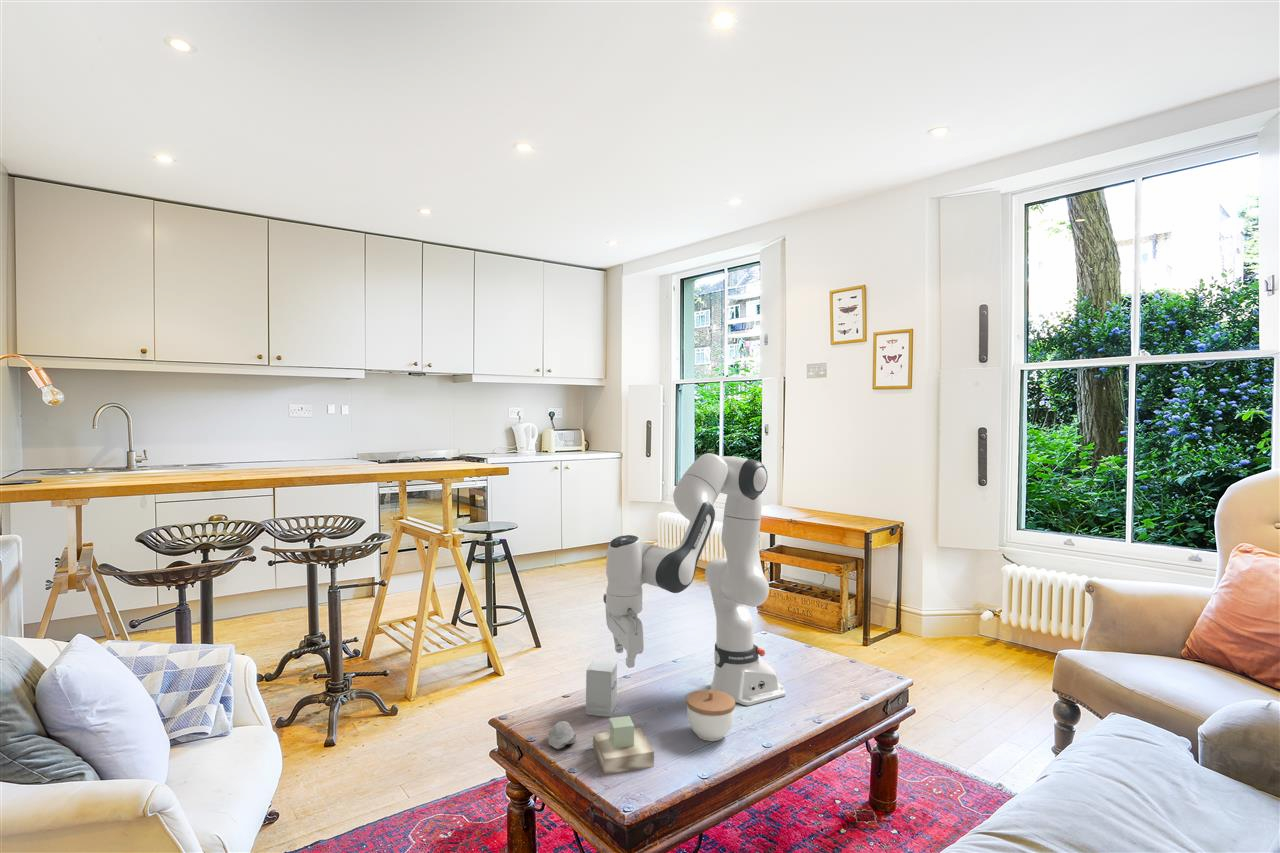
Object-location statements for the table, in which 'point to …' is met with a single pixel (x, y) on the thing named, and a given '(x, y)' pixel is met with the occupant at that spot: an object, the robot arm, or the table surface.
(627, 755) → the ash block
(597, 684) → the supplement box
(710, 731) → the lidded bowl
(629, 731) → the sage cube
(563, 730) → the white clam shell
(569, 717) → the table surface
